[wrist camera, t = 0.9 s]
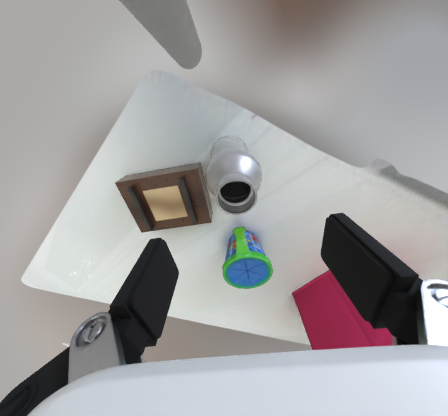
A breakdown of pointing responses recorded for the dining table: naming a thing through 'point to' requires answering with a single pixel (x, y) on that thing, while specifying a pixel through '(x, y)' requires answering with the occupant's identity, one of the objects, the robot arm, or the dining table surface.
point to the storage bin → (335, 317)
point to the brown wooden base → (167, 197)
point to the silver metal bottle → (233, 176)
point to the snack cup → (246, 261)
